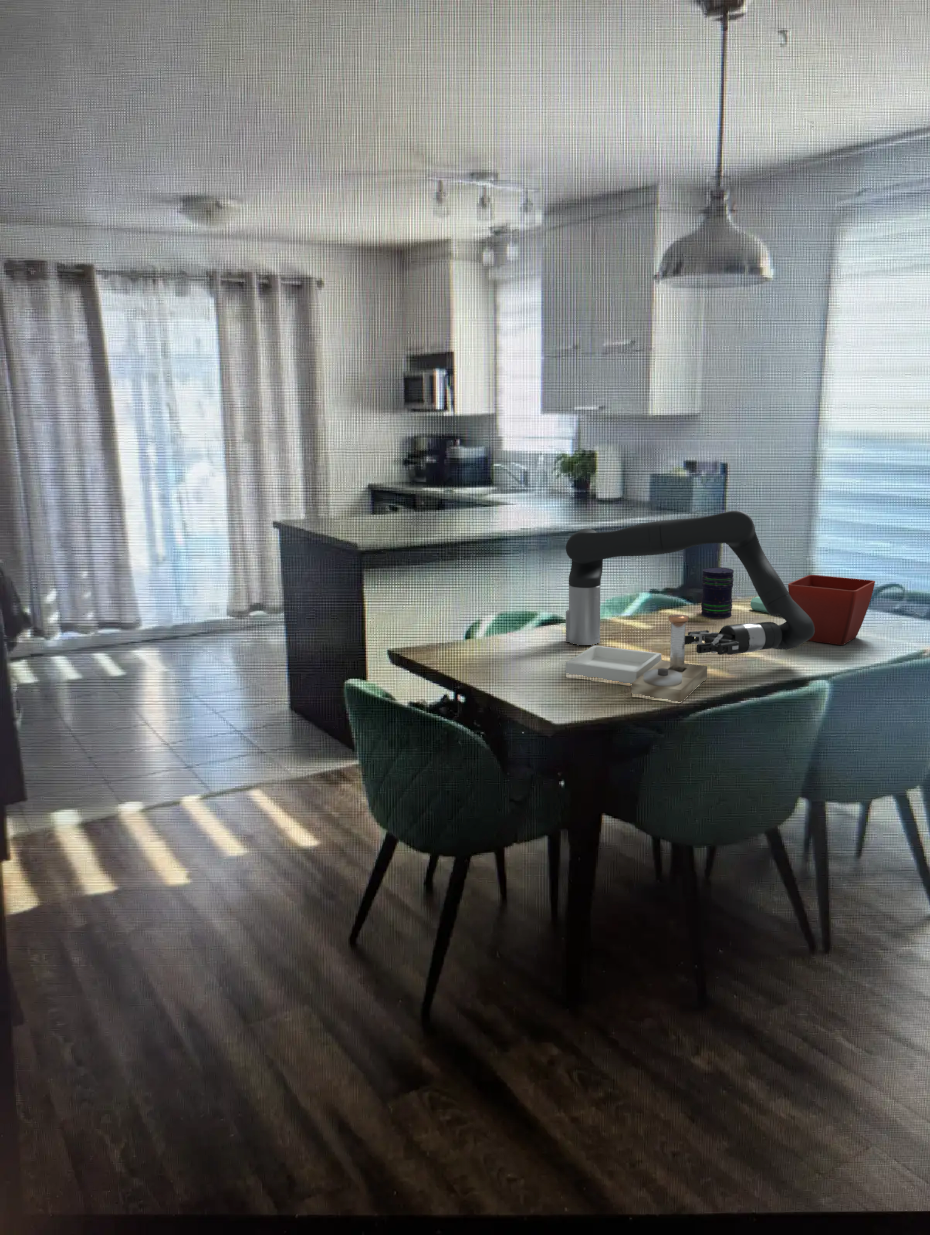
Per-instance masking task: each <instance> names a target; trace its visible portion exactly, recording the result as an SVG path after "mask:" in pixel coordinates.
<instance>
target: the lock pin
mask: <svg viewBox="0 0 930 1235" xmlns="http://www.w3.org/2000/svg"><path fill="white" fill-rule="evenodd" d="M668 622H670V623H671V626H670V651H669V653H670V655H669V656H670V657H669V661H670V670H674V671H677V672H683V671H684V663H685V648H686V646H685V636H686V623H688V622H689V615H687V614H686V615H685V614H680V613H678V614H676V613H675V614H674V613H673V614H669V615H668Z"/></svg>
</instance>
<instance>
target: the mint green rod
mask: <svg viewBox="0 0 930 1235" xmlns="http://www.w3.org/2000/svg"><path fill="white" fill-rule="evenodd" d="M750 608H751V609H752V610H754V611H756V612H761V613H766V614H769V613H768V611H767V610H766V608H765V606H764V604H763V603H762V601H761V599H760V597H759V596H755V597H752V598H751V600H750Z"/></svg>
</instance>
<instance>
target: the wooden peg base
mask: <svg viewBox="0 0 930 1235" xmlns="http://www.w3.org/2000/svg"><path fill="white" fill-rule="evenodd" d="M706 679H707V680H708V665H702V664H695V663H687V662H684V671H683V672H677V671H674V670H670V660H662V659H661V661H660V662H658V663H657V664H656V665H654V666H653V667H652V668H651V669H649V670H648V671H646V672H644V674H643V675H641V676H640V677H639V678H638V679H636V680H635V681H634V682H632V685H631V687H630V688H631V690H630V693H633V694H642V695H645V696H650V697H654V698H662V699H668V700H671V701H678V702H681V701H683V700H684V699H685V698H686V697H687V696H688V695H689V694H690V693H691V692H692V691H694V689H695V688H696V687H697V686H698V685H699V684H701V683H702V682H703V681H705V680H706ZM707 680H706V681H707ZM703 683H704V682H703ZM703 683H702V684H703ZM702 684H701V685H702ZM694 692H695V691H694ZM686 699H687V698H686ZM686 699H685V700H686ZM685 700H684V701H685ZM684 701H683V702H684Z"/></svg>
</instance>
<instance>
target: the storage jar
mask: <svg viewBox="0 0 930 1235" xmlns="http://www.w3.org/2000/svg"><path fill="white" fill-rule="evenodd" d="M734 571H735V570H734V569H732V568H729V567H719V566H718V567H705V568H703V569H702V576H701V577H702V579H701V581H702V583H701V585H702V597H701V603H700V607H701V608H700V609H701V614H700V616H702V617H705V618H709V619H727V618H730V617H732V611H733V610H732V609H733V595H732V594H733V587H734V580H735V579H734Z"/></svg>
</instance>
